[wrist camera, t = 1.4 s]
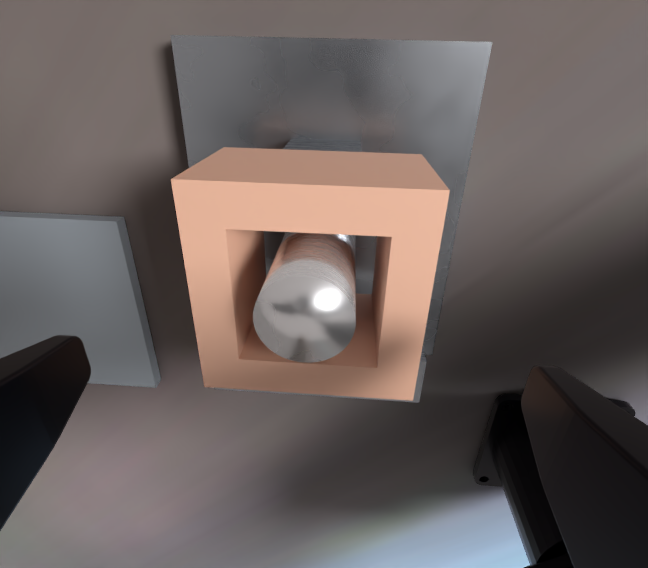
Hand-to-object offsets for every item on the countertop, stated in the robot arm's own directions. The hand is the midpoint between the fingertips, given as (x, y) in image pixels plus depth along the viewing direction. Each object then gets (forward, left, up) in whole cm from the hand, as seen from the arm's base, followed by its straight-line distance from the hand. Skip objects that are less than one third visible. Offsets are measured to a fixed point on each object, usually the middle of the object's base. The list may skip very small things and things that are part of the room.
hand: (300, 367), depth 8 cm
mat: (-5, +13, -9) cm, 17 cm away
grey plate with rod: (0, 0, -9) cm, 9 cm away
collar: (0, 0, -6) cm, 6 cm away
